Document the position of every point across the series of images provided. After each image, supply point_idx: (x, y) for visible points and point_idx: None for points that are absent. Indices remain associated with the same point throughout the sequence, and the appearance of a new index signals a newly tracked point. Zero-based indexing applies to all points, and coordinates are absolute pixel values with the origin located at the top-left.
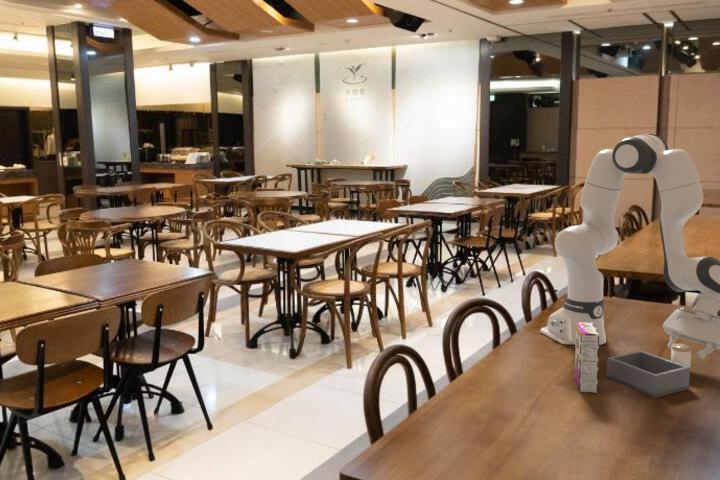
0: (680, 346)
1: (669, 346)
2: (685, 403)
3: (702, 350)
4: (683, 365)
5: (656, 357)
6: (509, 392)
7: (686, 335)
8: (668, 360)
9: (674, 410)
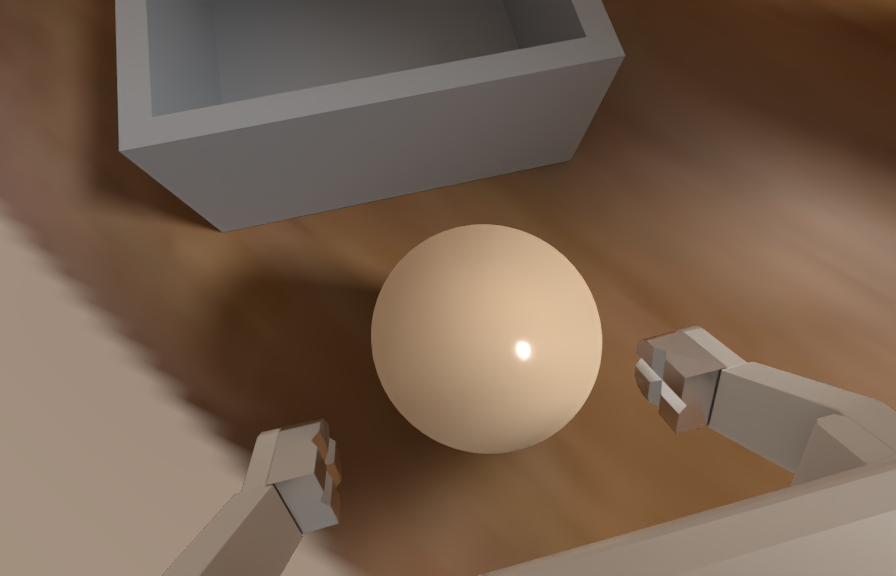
0: (484, 313)
1: (666, 335)
2: (82, 91)
3: (263, 488)
4: (183, 134)
5: (433, 67)
6: None
7: (661, 527)
8: (332, 102)
9: (51, 3)
